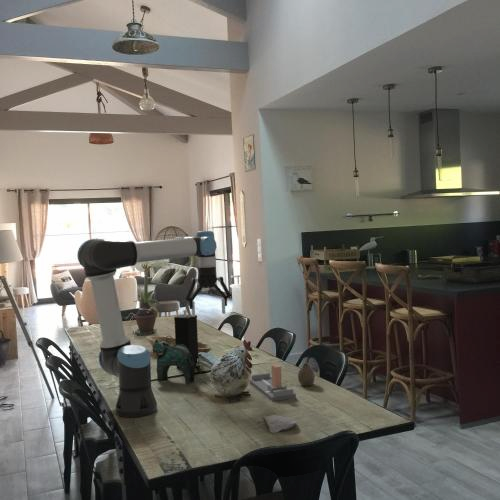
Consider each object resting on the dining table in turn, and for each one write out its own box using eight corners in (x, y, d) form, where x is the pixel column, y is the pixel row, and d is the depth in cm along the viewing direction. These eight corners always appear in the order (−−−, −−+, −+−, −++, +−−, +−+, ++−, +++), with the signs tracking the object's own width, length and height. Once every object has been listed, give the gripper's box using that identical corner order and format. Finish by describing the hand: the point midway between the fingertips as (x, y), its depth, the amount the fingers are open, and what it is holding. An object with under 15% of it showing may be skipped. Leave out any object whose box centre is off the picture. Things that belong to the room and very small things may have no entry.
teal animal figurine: (152, 380, 245) (150, 335, 244) (161, 376, 250) (159, 332, 249) (190, 384, 235) (188, 338, 234) (198, 380, 241) (196, 335, 240)
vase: (314, 387, 225) (313, 366, 225) (297, 387, 226) (296, 366, 226) (315, 382, 232) (314, 362, 231) (299, 382, 233) (298, 361, 233)
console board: (249, 383, 234) (249, 375, 234) (271, 380, 238) (271, 372, 237) (271, 401, 210) (271, 392, 210) (295, 397, 213) (295, 388, 213)
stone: (292, 419, 191) (292, 409, 191) (299, 431, 179) (299, 421, 179) (263, 421, 190) (263, 411, 190) (268, 434, 178) (267, 423, 178)
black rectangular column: (176, 368, 263) (173, 310, 261) (185, 364, 270) (183, 307, 268) (189, 369, 259) (187, 311, 258) (199, 365, 266) (196, 308, 265)
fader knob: (267, 388, 219) (266, 365, 219) (281, 386, 221) (280, 363, 221) (272, 392, 215) (271, 368, 214) (286, 390, 217) (285, 366, 216)
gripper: (231, 264, 247) (233, 311, 248) (176, 267, 238) (178, 316, 240) (236, 265, 240) (238, 313, 241) (180, 268, 231) (182, 318, 232)
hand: (208, 315), depth 240 cm, fingers open, 13 cm apart
